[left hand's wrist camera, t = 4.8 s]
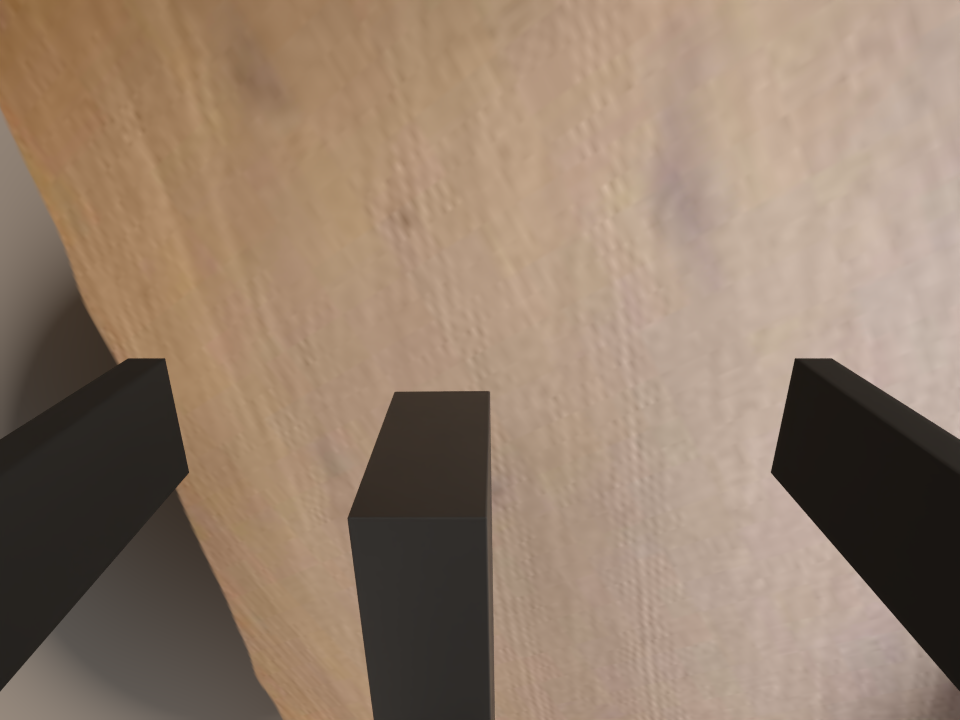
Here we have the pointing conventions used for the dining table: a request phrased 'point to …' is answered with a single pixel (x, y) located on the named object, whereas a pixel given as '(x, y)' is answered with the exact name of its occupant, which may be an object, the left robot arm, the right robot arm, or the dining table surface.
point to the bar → (428, 559)
